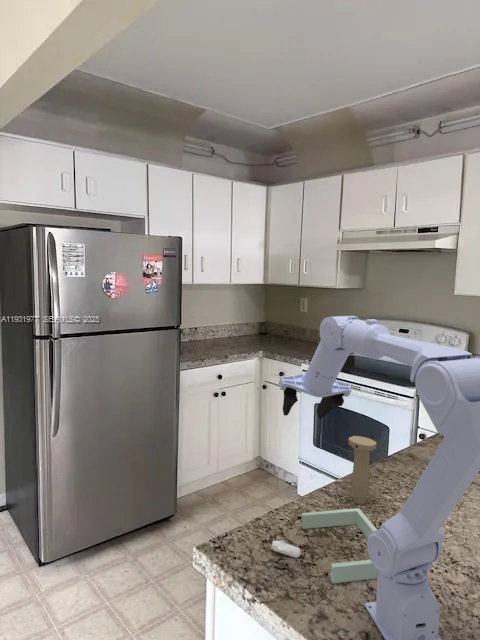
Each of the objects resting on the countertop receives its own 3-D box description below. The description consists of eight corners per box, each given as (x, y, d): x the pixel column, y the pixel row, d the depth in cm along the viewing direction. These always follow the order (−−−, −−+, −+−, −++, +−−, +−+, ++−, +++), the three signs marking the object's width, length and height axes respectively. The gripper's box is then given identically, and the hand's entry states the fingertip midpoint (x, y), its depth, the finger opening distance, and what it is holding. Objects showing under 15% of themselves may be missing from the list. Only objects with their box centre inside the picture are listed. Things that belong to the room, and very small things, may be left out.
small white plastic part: (295, 567, 84) (296, 551, 83) (268, 554, 87) (268, 539, 87) (305, 557, 86) (305, 542, 86) (278, 545, 90) (278, 531, 90)
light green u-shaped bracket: (401, 575, 81) (402, 559, 81) (332, 583, 79) (333, 567, 79) (358, 521, 99) (359, 508, 99) (301, 526, 97) (301, 513, 96)
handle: (366, 510, 103) (368, 447, 102) (342, 499, 108) (344, 439, 107) (377, 503, 107) (380, 442, 105) (353, 493, 111) (356, 434, 110)
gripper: (353, 357, 91) (329, 401, 99) (285, 349, 88) (266, 395, 96) (363, 383, 86) (337, 427, 94) (291, 375, 83) (271, 422, 91)
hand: (302, 413), depth 95 cm, fingers open, 7 cm apart
